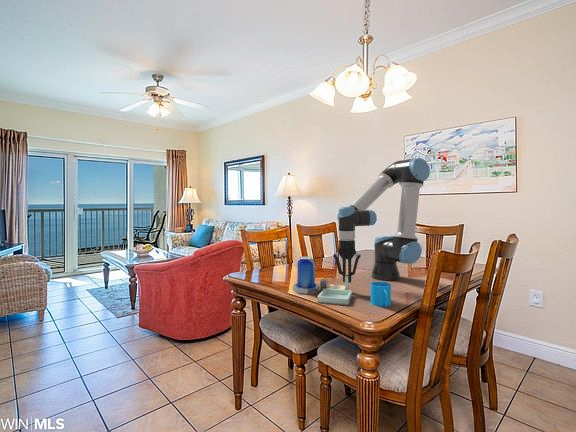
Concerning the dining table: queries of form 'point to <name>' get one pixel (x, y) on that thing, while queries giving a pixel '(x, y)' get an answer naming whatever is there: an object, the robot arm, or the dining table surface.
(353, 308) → the dining table surface
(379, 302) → the mug
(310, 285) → the blue bottle
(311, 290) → the collar
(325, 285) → the dog
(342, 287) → the plate
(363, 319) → the dining table surface
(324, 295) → the tray
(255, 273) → the dining table surface
